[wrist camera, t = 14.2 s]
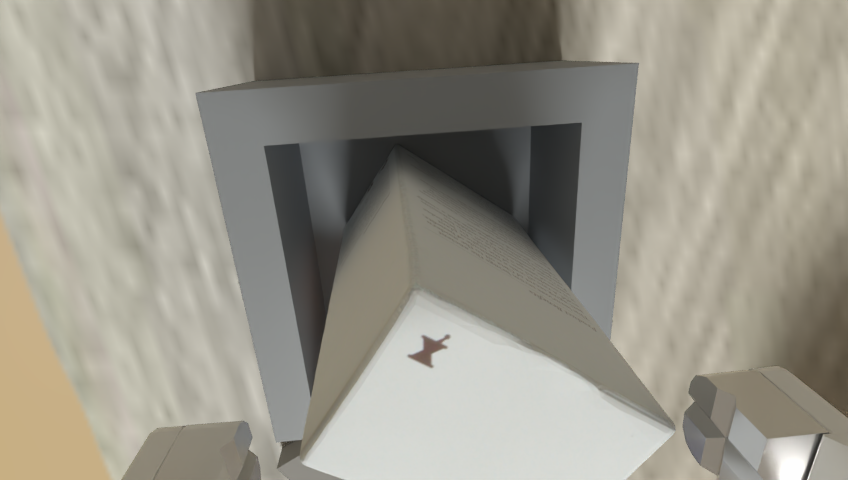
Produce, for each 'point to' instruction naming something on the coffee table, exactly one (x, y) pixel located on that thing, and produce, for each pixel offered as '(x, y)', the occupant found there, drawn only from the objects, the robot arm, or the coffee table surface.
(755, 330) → the coffee table surface
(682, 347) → the coffee table surface
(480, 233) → the skincare box
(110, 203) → the coffee table surface
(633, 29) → the coffee table surface
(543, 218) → the block
